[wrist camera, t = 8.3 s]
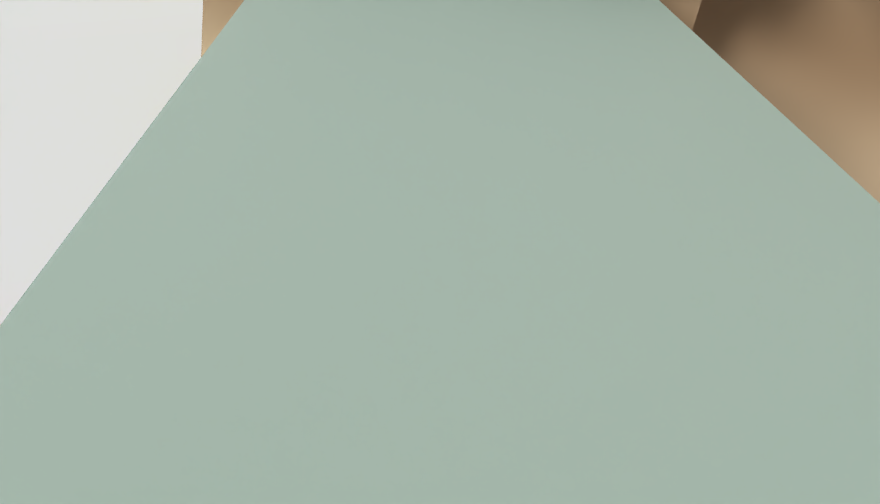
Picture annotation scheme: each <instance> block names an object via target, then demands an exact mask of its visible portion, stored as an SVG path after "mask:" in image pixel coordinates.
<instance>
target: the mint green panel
mask: <svg viewBox="0 0 880 504" xmlns="http://www.w3.org/2000/svg"><path fill="white" fill-rule="evenodd" d="M0 504H880V203H879V202H878V201H877V200H876V199H875V198H874V197H872V196H871V195H870V194H869V193H868V192H867V191H866V190H865V189H864V188H863V187H862V186H860V185H859V184H858V183H857V182H856V181H855V180H854V179H853V178H852V177H851V176H850V175H849V174H847V173H846V172H845V171H844V170H843V169H842V168H841V167H840V166H839V165H838V164H837V163H835V162H834V161H833V160H832V159H831V158H830V157H829V156H828V155H827V154H826V153H825V152H824V151H822V150H821V149H820V148H819V147H818V146H817V145H816V144H815V143H814V142H813V141H812V140H810V139H809V138H808V137H807V136H806V135H805V134H804V133H803V132H802V131H801V130H800V129H798V128H797V127H796V126H795V125H794V124H793V123H792V122H791V121H790V120H789V119H788V118H787V117H785V116H784V115H783V114H782V113H781V112H780V111H779V110H778V109H777V108H776V107H775V106H773V105H772V104H771V103H770V102H769V101H768V100H767V99H766V98H765V97H764V96H763V95H762V94H760V93H759V92H758V91H757V90H756V89H755V88H754V87H753V86H752V85H751V84H750V83H748V82H747V81H746V80H745V79H744V78H743V77H742V76H741V75H740V74H739V73H738V72H736V71H735V70H734V69H733V68H732V67H731V66H730V65H729V64H728V63H727V62H726V61H725V60H723V59H722V58H721V57H720V56H719V55H718V54H717V53H716V52H715V51H714V50H713V49H711V48H710V47H709V46H708V45H707V44H706V43H705V42H704V41H703V40H702V39H701V38H700V37H698V36H697V35H696V34H695V33H694V32H693V31H692V30H691V29H690V28H689V27H688V26H686V25H685V24H684V23H683V22H682V21H681V20H680V19H679V18H678V17H677V16H676V15H674V14H673V13H672V12H671V11H670V10H669V9H668V8H667V7H666V6H665V5H664V4H663V3H661V2H660V1H659V0H244V1H243V3H242V4H241V5H240V7H239V8H238V9H237V11H236V12H235V13H234V15H233V16H232V17H231V19H230V20H229V21H228V23H227V24H226V25H225V27H224V28H223V29H222V31H221V32H220V33H219V35H218V36H217V37H216V39H215V40H214V41H213V43H212V44H211V45H210V47H209V48H208V49H207V51H206V52H205V53H204V55H203V56H202V57H201V59H200V60H199V61H198V63H197V64H196V65H195V67H194V68H193V69H192V71H191V72H190V73H189V75H188V76H187V77H186V79H185V80H184V81H183V83H182V84H181V85H180V87H179V88H178V89H177V91H176V92H175V93H174V95H173V96H172V97H171V99H170V100H169V101H168V103H167V104H166V105H165V107H164V108H163V109H162V111H161V112H160V113H159V115H158V116H157V117H156V119H155V120H154V121H153V123H152V124H151V125H150V127H149V128H148V129H147V131H146V132H145V133H144V135H143V136H142V137H141V139H140V140H139V141H138V143H137V144H136V145H135V147H134V148H133V149H132V151H131V152H130V153H129V155H128V156H127V157H126V159H125V160H124V161H123V163H122V164H121V165H120V167H119V168H118V169H117V171H116V172H115V173H114V175H113V176H112V177H111V179H110V180H109V181H108V183H107V184H106V185H105V187H104V188H103V189H102V191H101V192H100V193H99V195H98V196H97V197H96V199H95V200H94V201H93V203H92V204H91V205H90V207H89V208H88V209H87V211H86V212H85V213H84V215H83V216H82V217H81V219H80V220H79V221H78V223H77V224H76V225H75V227H74V228H73V229H72V231H71V232H70V233H69V235H68V236H67V237H66V239H65V240H64V241H63V243H62V244H61V245H60V247H59V248H58V249H57V251H56V252H55V253H54V255H53V256H52V257H51V259H50V260H49V261H48V263H47V264H46V265H45V267H44V268H43V269H42V271H41V272H40V273H39V275H38V276H37V277H36V279H35V280H34V281H33V283H32V284H31V285H30V287H29V288H28V289H27V291H26V292H25V293H24V295H23V296H22V297H21V299H20V300H19V301H18V303H17V304H16V305H15V307H14V308H13V309H12V311H11V312H10V313H9V315H8V316H7V317H6V319H5V320H4V321H3V323H2V324H1V325H0Z"/></svg>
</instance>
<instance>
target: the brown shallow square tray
mask: <svg viewBox="0 0 880 504" xmlns="http://www.w3.org/2000/svg"><path fill="white" fill-rule="evenodd" d="M243 1H244V0H203V22H202V52H201V57H202V56H203V55H204V53H205V52H206V51H207V49H208V48H209V47H210V45H211V44H212V43H213V41H214V40H215V39H216V37H217V36H218V35H219V33H220V32H221V31H222V29H223V28H224V27H225V25H226V24H227V23H228V21H229V20H230V19H231V17H232V16H233V15H234V13H235V12H236V11H237V9H238V8H239V7H240V5H241V4H242V3H243ZM659 1H660V2H661V3H663V4H664V5H665V6H666V7H667V8H668V9H669V10H670V11H671V12H672V13H673V14H674V15H676V16H677V17H678V18H679V19H680V20H681V21H682V22H683V23H684V24H685V25H686V26H688V27H689V28H690V29H691V30H692V31H693V32H694V33H695V34H696V35H697V36H698V37H700V38H701V39H702V40H703V41H704V42H705V43H706V44H707V45H708V46H709V47H710V48H711V49H713V50H714V51H715V52H716V53H717V54H718V55H719V56H720V57H721V58H722V59H723V60H725V61H726V62H727V63H728V64H729V65H730V66H731V67H732V68H733V69H734V70H735V71H736V72H738V73H739V74H740V75H741V76H742V77H743V78H744V79H745V80H746V81H747V82H748V83H750V84H751V85H752V86H753V87H754V88H755V89H756V90H757V91H758V92H759V93H760V94H762V95H763V96H764V97H765V98H766V99H767V100H768V101H769V102H770V103H771V104H772V105H773V106H775V107H776V108H777V109H778V110H779V111H780V112H781V113H782V114H783V115H784V116H785V117H787V118H788V119H789V120H790V121H791V122H792V123H793V124H794V125H795V126H796V127H797V128H798V129H800V130H801V131H802V132H803V133H804V134H805V135H806V136H807V137H808V138H809V139H810V140H812V141H813V142H814V143H815V144H816V145H817V146H818V147H819V148H820V149H821V150H822V151H824V152H825V153H826V154H827V155H828V156H829V157H830V158H831V159H832V160H833V161H834V162H835V163H837V164H838V165H839V166H840V167H841V168H842V169H843V170H844V171H845V172H846V173H847V174H849V175H850V176H851V177H852V178H853V179H854V180H855V181H856V182H857V183H858V184H859V185H860V186H862V187H863V188H864V189H865V190H866V191H867V192H868V193H869V194H870V195H871V196H872V197H874V198H875V199H876V200H877V201H878V202H879V203H880V0H659Z"/></svg>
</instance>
